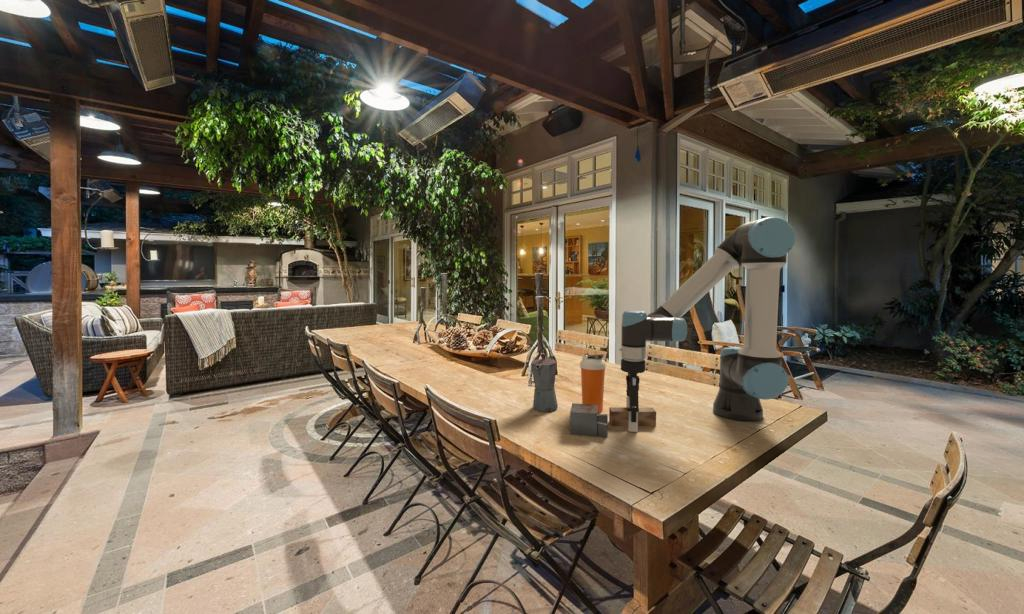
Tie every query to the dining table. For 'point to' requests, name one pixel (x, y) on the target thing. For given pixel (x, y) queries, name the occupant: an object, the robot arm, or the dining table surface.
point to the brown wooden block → (621, 416)
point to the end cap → (588, 421)
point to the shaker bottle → (593, 379)
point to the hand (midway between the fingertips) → (631, 423)
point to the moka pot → (544, 384)
